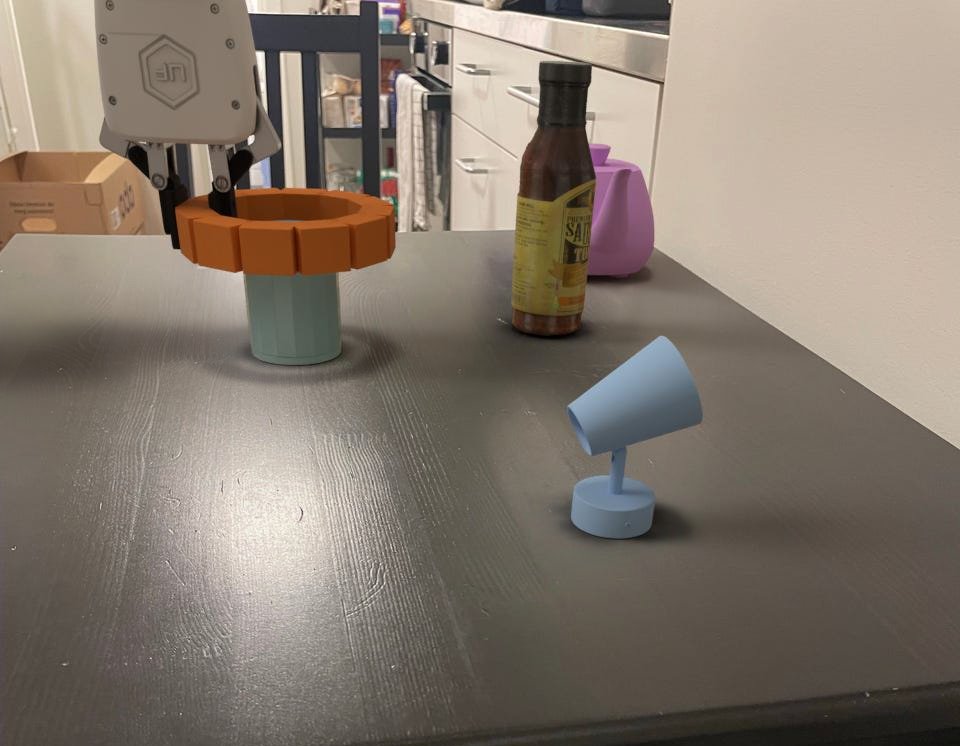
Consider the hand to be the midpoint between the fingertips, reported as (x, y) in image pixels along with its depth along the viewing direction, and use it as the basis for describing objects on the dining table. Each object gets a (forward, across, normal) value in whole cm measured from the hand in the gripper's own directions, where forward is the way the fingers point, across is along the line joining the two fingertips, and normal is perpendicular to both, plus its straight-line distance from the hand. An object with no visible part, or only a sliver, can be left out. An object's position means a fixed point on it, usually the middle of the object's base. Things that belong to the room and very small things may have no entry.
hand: (203, 244), depth 72 cm
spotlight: (+8, +29, -27) cm, 41 cm away
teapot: (+8, +31, +30) cm, 44 cm away
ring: (0, +6, 0) cm, 7 cm away
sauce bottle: (+8, +26, +9) cm, 29 cm away
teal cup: (+8, +6, 0) cm, 10 cm away
